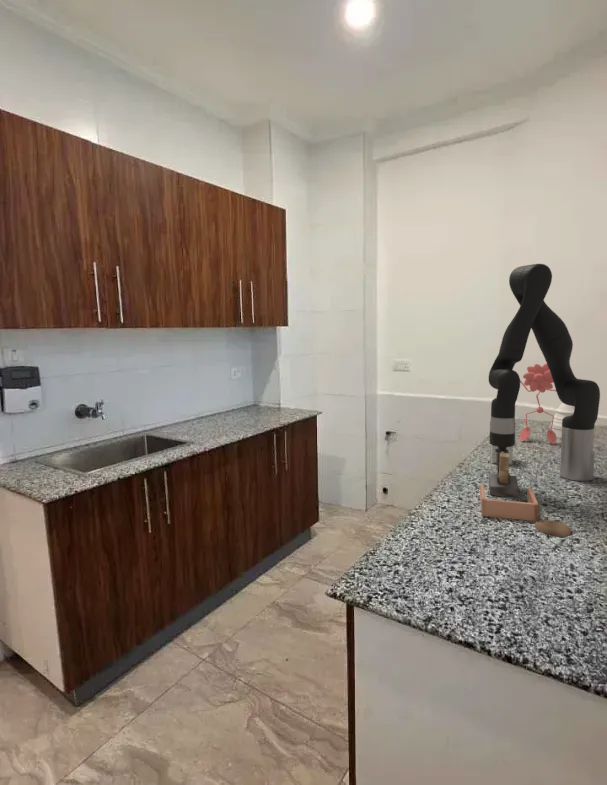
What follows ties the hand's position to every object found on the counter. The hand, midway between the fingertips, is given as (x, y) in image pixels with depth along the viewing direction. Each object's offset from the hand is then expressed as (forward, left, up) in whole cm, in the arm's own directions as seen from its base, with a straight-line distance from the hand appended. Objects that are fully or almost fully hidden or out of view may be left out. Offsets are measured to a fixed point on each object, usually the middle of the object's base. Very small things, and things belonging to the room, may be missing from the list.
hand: (500, 481), depth 146 cm
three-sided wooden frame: (0, +20, -1) cm, 20 cm away
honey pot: (-33, -76, -1) cm, 83 cm away
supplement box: (-2, -27, -1) cm, 28 cm away
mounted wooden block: (0, +6, 0) cm, 6 cm away
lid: (-10, +31, -2) cm, 32 cm away
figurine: (-18, -56, -1) cm, 59 cm away
